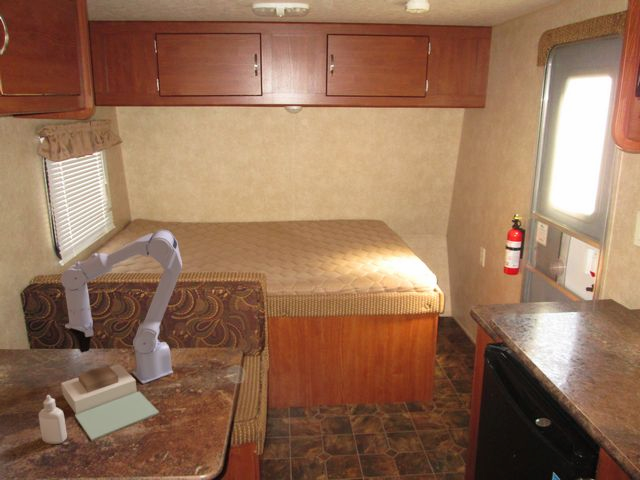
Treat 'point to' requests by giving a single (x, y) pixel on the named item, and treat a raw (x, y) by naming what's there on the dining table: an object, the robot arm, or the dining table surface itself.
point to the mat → (116, 415)
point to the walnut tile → (98, 378)
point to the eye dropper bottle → (52, 422)
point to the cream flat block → (98, 391)
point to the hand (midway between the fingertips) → (84, 350)
